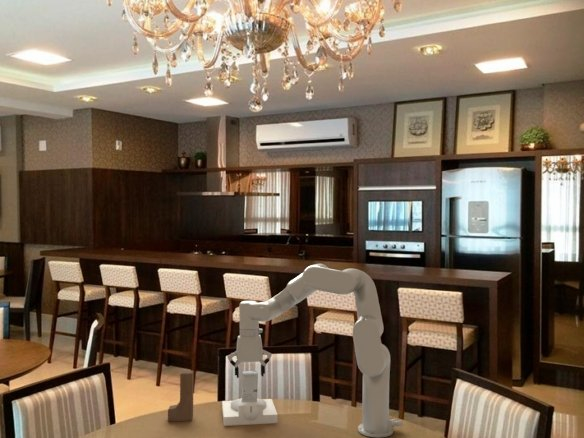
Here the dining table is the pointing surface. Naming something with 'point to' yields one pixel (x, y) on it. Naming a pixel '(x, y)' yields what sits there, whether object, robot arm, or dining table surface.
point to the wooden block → (183, 399)
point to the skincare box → (249, 386)
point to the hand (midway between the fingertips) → (249, 376)
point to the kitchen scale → (249, 412)
